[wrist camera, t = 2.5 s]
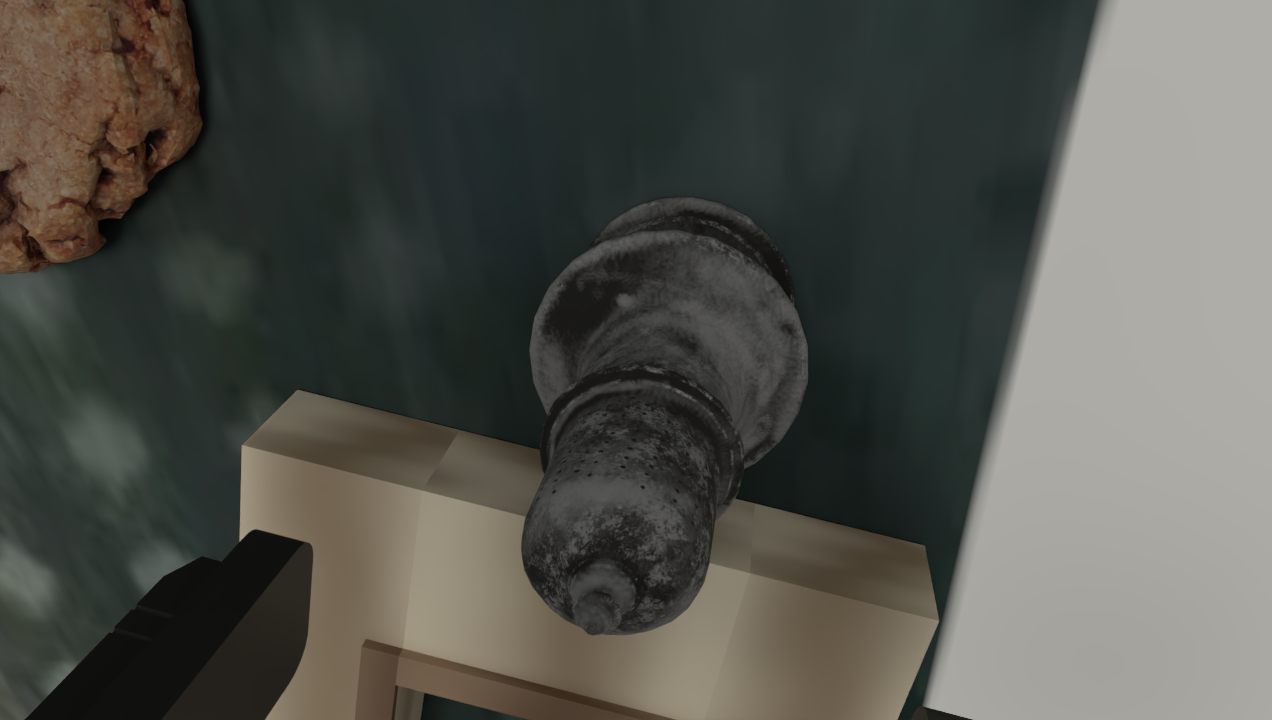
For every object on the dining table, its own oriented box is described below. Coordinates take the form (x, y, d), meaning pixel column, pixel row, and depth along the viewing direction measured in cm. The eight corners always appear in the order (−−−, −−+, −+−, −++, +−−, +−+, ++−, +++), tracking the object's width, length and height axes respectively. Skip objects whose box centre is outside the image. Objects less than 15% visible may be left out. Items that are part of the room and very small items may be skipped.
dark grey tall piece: (791, 424, 25) (786, 823, 14) (561, 397, 26) (391, 760, 15) (823, 196, 23) (845, 471, 12) (567, 172, 23) (367, 413, 13)
